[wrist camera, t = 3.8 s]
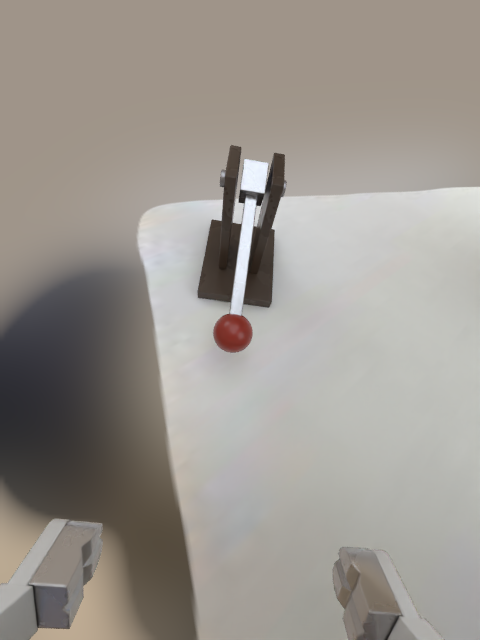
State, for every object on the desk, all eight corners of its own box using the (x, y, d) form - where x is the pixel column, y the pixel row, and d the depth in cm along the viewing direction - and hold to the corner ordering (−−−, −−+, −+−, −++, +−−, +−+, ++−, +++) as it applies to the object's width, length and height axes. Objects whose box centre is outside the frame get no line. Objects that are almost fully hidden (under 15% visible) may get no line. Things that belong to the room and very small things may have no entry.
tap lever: (247, 352, 25) (251, 357, 21) (211, 347, 25) (209, 352, 21) (270, 183, 25) (278, 159, 22) (234, 176, 25) (236, 152, 21)
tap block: (269, 307, 32) (308, 222, 19) (198, 297, 31) (192, 203, 19) (272, 236, 37) (305, 134, 25) (211, 227, 36) (214, 117, 24)
